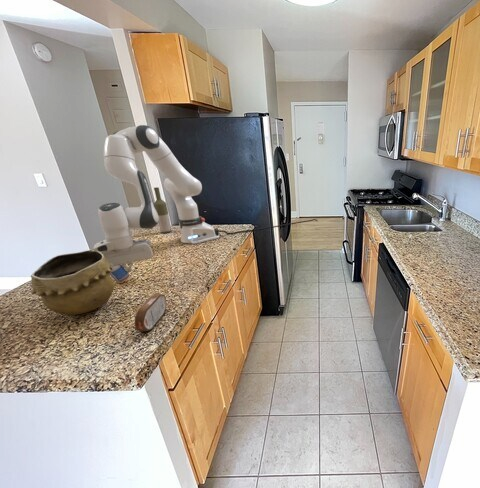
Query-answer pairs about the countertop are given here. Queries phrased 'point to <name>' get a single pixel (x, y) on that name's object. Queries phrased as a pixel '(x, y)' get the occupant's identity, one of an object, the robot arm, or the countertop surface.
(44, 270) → the clay pot
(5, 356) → the countertop surface
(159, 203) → the bottle
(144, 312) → the brown oval clock
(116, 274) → the pill bottle
